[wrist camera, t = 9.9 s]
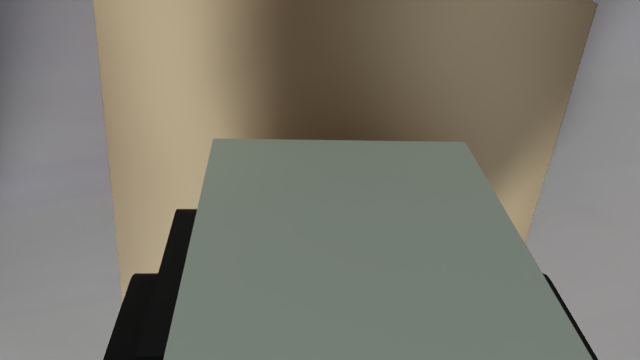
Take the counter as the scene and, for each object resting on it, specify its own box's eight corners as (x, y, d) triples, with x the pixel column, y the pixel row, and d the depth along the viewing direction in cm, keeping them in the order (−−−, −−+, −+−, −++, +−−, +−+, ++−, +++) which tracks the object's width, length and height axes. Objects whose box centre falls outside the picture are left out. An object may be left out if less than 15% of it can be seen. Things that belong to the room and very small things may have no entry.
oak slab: (528, -35, 16) (598, 4, 12) (454, 272, 21) (489, 361, 17) (134, -66, 15) (89, -34, 12) (154, 262, 20) (127, 353, 16)
